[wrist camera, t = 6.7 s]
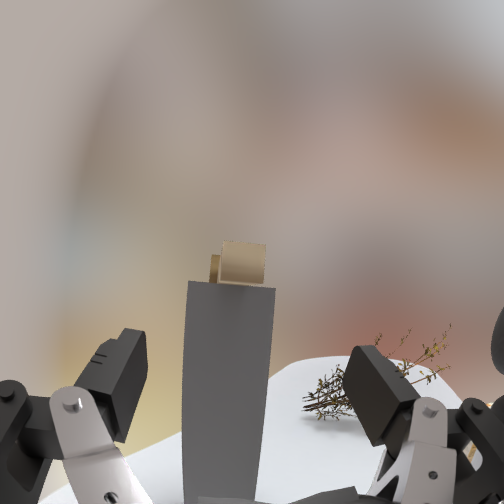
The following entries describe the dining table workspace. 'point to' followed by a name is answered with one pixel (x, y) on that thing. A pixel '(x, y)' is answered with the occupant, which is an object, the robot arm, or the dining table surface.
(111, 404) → the robot arm
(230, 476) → the plinth
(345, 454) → the dining table surface
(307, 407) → the dried plant
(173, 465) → the dining table surface
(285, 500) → the dining table surface
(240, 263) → the hanging bar
